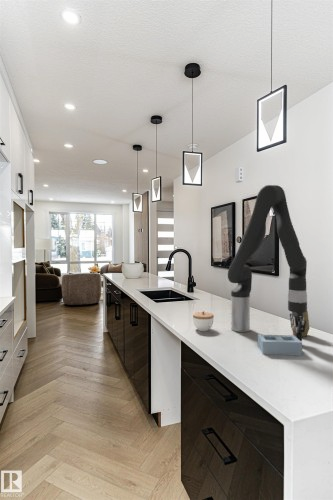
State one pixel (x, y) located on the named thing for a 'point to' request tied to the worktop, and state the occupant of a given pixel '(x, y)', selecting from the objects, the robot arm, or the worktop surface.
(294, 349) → the socket block
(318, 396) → the worktop surface
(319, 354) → the worktop surface
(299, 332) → the robot arm
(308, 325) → the squeeze bottle
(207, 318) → the lidded jar
